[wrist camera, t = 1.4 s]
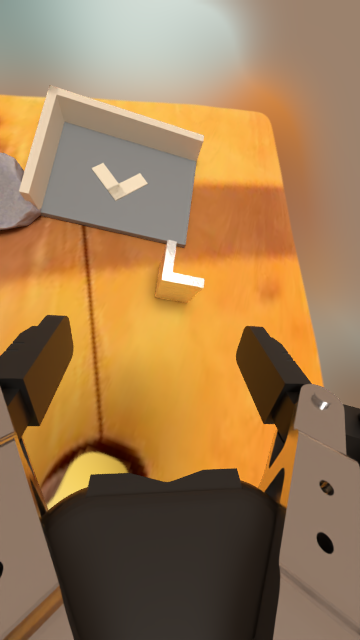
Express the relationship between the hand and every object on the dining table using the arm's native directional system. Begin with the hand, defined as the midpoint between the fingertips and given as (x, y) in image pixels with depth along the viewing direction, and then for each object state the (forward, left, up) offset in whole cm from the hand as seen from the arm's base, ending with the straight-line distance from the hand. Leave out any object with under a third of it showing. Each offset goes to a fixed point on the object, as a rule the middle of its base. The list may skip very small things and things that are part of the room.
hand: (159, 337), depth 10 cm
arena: (-7, +27, -25) cm, 38 cm away
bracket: (+4, +11, -25) cm, 28 cm away
